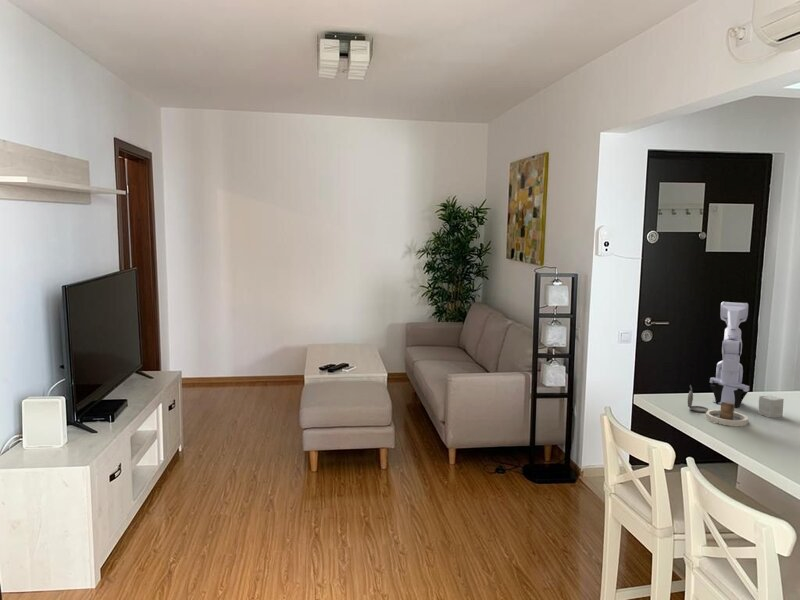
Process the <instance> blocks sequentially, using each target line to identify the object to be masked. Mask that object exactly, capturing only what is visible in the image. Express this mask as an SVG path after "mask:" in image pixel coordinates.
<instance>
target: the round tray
mask: <svg viewBox="0 0 800 600" xmlns="http://www.w3.org/2000/svg"><path fill="white" fill-rule="evenodd" d="M720 411H721V409H710V410H709V409H708V411H707V412H705V418H707V419H706V420H707V421H709V420H710V421H709V422H711V421H712V422H711V423H714V422H715V423H714V424H717V423H719V424H718V425H721V424H723V425H722V426H726V425H730V426H729V427H744V426H747V425H748V423H749V418H748V416H747V415H745V414H743V413H740V412H736V411H734V413H733V420H726V419H721V418H720ZM743 425H744V426H743Z"/></svg>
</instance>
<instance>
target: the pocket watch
mask: <svg viewBox="0 0 800 600" xmlns="http://www.w3.org/2000/svg"><path fill="white" fill-rule="evenodd" d="M689 389H690V390H689V391H688V395H687V407H689V409H690V410H691V411H693V412H697V413H706V412H707V411H709V408H707V407H705V406H701V405H693V400H694V393H693V387H692V385H691V384H690V385H689Z"/></svg>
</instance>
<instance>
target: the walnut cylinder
mask: <svg viewBox="0 0 800 600" xmlns="http://www.w3.org/2000/svg"><path fill="white" fill-rule="evenodd" d="M720 410H721V411H720V418H721V419H726V420H733V413H734V412H735V407H734V404H733V403H729V402H721V404H720Z"/></svg>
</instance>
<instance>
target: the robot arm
mask: <svg viewBox="0 0 800 600" xmlns="http://www.w3.org/2000/svg"><path fill="white" fill-rule="evenodd" d="M719 314H720V320H722V321H724V322H725V324H726V327H725V328H724V334H723V335H724V336H723V341H722V344H721V345H722V346H721V354H722V358H721V359H722V360H720V361H718V362H717V363H716V370H715V371H716V372H715V377H710V378H709V383H710V389H711V390H712V394H713V396H714V400H712V402H713V403H716V404H719V405H721V402H729V403H733V404H734V409H740V407H741V405H744V402H743V400H744V398H745V396H747V394H748V392H749V391H750V385H747V384H744V383H742V382H743V375H744V374H743V373H744V369H743V365H742V363H740V361H741V359H740V357H741V355H742V351H743V350H742V349H743V340H742V330H741V328H739V326H740V324H741V323H744V322H746V321H747V319H748V316H749V303H748V302H734V301H733V302H730V301H722V302H721V303H720V313H719Z"/></svg>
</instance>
